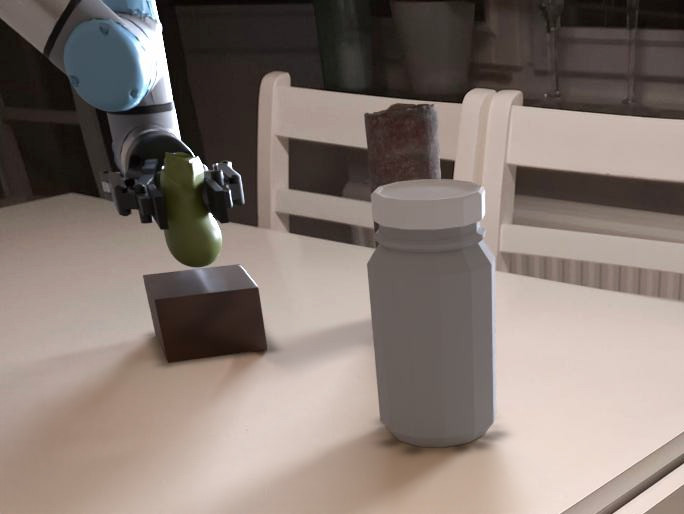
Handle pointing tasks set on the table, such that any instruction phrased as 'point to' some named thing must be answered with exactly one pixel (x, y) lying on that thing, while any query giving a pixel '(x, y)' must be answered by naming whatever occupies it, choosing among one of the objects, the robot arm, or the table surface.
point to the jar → (433, 312)
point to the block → (205, 312)
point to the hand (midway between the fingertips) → (192, 210)
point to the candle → (402, 145)
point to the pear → (188, 212)
